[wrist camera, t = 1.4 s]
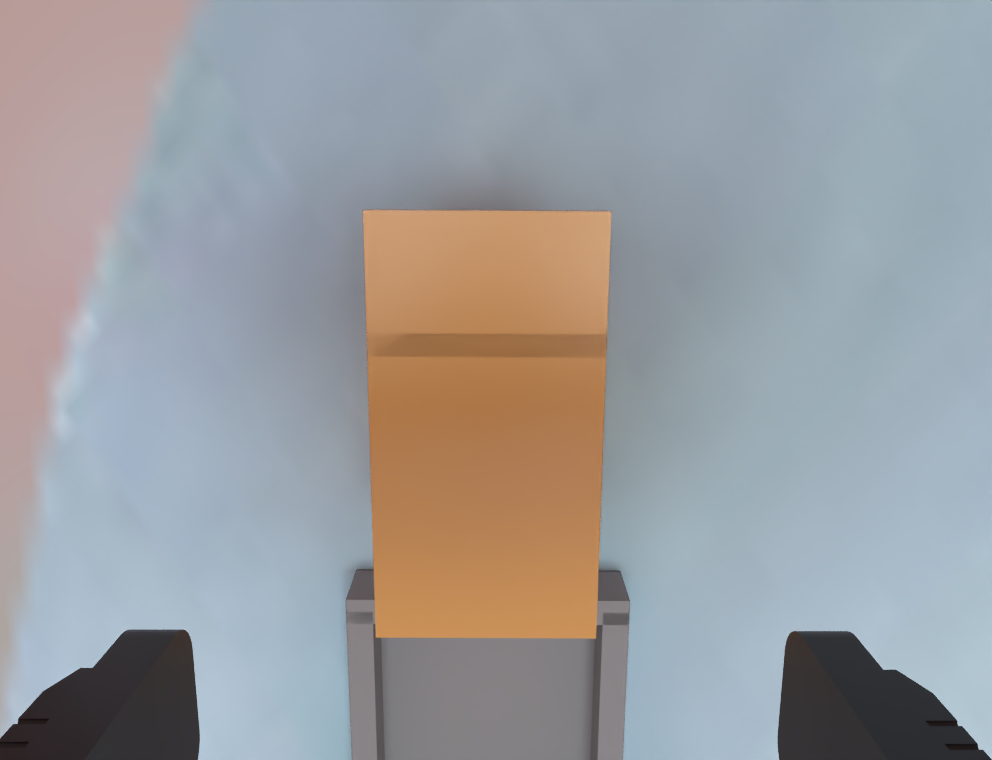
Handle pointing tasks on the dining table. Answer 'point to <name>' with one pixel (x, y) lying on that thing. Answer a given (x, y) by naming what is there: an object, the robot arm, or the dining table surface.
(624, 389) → the dining table surface
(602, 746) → the green boxy vehicle
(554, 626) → the orange box
